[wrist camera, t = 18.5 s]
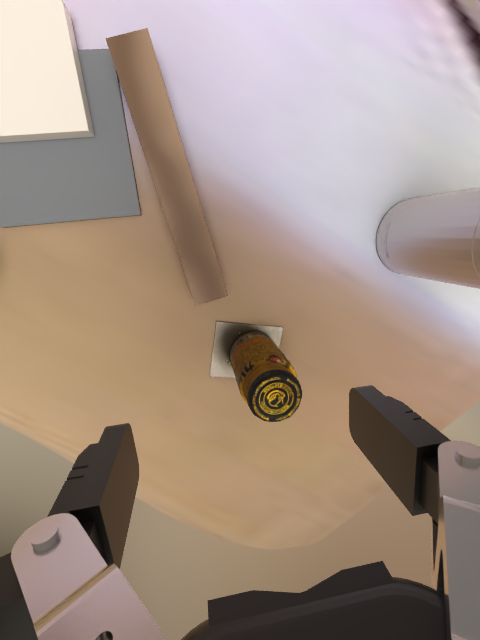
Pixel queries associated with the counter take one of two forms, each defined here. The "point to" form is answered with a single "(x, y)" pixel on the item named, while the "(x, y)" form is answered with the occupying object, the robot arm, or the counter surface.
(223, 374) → the condiment
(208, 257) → the push bar
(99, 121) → the mat
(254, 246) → the counter surface
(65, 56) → the tile
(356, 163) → the counter surface
